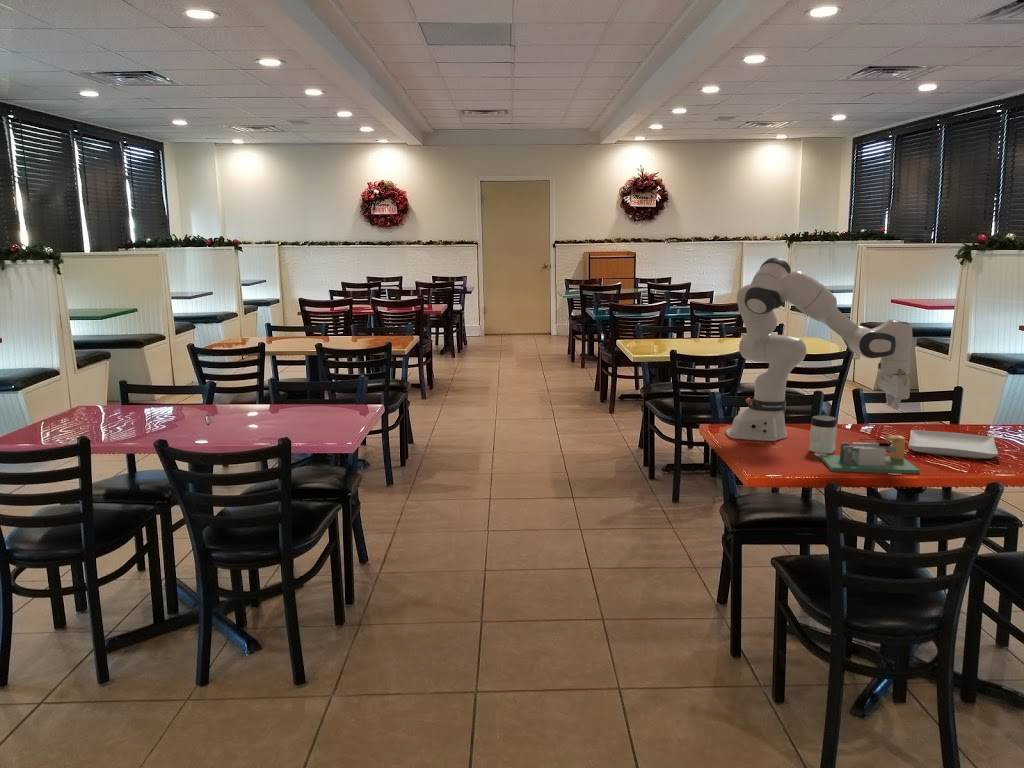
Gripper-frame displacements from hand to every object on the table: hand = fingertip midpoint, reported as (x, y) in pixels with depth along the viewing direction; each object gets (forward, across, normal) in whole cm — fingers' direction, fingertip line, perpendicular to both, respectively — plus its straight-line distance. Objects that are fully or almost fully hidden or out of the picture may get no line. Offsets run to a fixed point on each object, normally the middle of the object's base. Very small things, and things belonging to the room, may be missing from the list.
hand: (892, 407), depth 273 cm
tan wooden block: (+16, -8, +1) cm, 18 cm away
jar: (+17, +4, +21) cm, 28 cm away
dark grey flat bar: (+12, -14, +11) cm, 21 cm away
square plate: (+18, +11, -25) cm, 32 cm away
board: (+17, -14, +11) cm, 25 cm away
